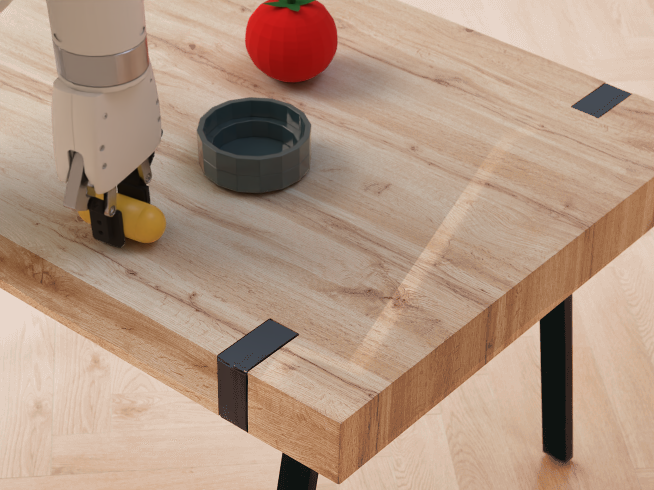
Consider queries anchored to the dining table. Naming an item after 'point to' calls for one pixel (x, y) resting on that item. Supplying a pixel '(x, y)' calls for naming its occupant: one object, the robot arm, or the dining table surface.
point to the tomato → (291, 39)
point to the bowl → (254, 144)
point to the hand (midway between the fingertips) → (122, 227)
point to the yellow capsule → (136, 218)
